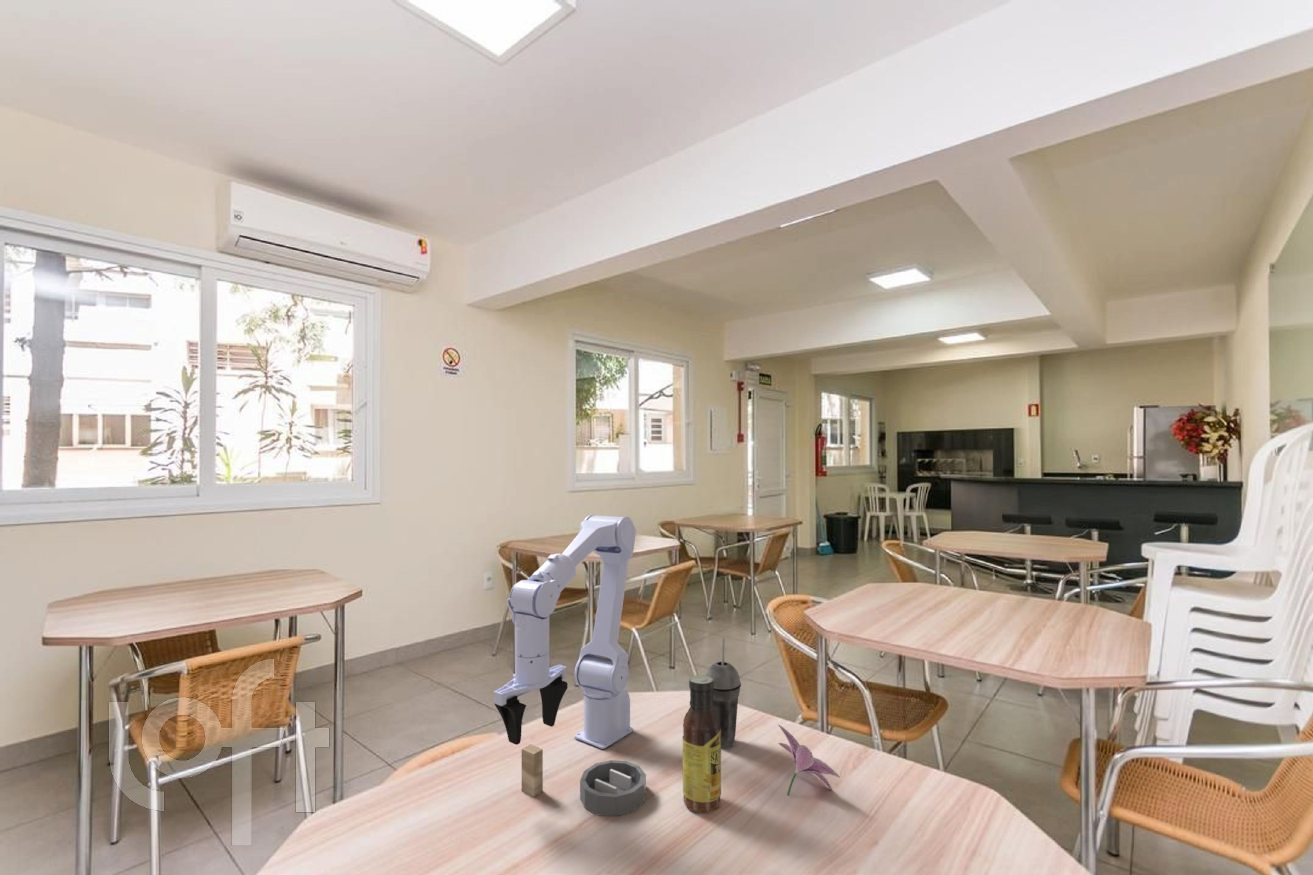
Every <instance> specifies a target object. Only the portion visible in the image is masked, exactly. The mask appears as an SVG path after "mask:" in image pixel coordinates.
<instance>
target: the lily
mask: <svg viewBox="0 0 1313 875" xmlns="http://www.w3.org/2000/svg"><path fill="white" fill-rule="evenodd" d="M778 727H779V728H780V730H781V731H782V732H783V734H784V735H785V737H786V739H787V741H788V744H786V743H783V742H779V743H778V745H779V746H780V747H782V748H784V749H785V750H786V751H787V752H789V753H790V754H791V755H792V757H793V760H794V763H795V764H794V765H795V772H794V773H793V775H792V778H791V781H790V784H789V787H788V791H787V794H786V795H787V796H790V793H791V789H792V787H793V782H794V780H795V778H796V776H797V774H798V773H799V772H803V773H804V772H805V773H811V774H814V775H815V776H816V777H818V778H819V779H820V780H821V781H822V782H823V783H824V784H825V785H826V786H827V787H828V788H829V789H830V790H831V791H833V788H832V786H831V784H830V782H829V781H828V780H827V778H826V777H825V776H824V775H829V776H830V775H831V776H834V777H837V778H841V776H840V775H839V774H838V773H837V772H836V771H835V770H834V769H833V768H832V767H831V766H829V765H828V764H827V763H826V762H824V761H822V760H821V759H819V758H817V757H814V755H813V752H812V751H811V750H810V748H809V747H808V746H806V745H804V744H800V743H799V741H798V739H797V738H796V737H795V736H794V735H793V734H792V733H790V732H789V731H788V729H785V727H783V726H781V725H780V724H778Z"/></svg>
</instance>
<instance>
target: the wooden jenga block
mask: <svg viewBox="0 0 1313 875" xmlns="http://www.w3.org/2000/svg"><path fill="white" fill-rule="evenodd" d="M543 755H544V754H543V748H540V747H538V746H536V745H534V744H528V745H526V746H524V747H522V748H521V792H523V793H525V794H527V795H529V796H531V797H533V798H534V797H536V796H537V795H540V793H542V792H543V790H544V786H543V783H544V782H543V781H544V780H543V779H544V778H543V777H544V776H543V774H544V766H543V765H544V764H543V763H544V760H543V759H544V758H543V757H544V756H543Z"/></svg>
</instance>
